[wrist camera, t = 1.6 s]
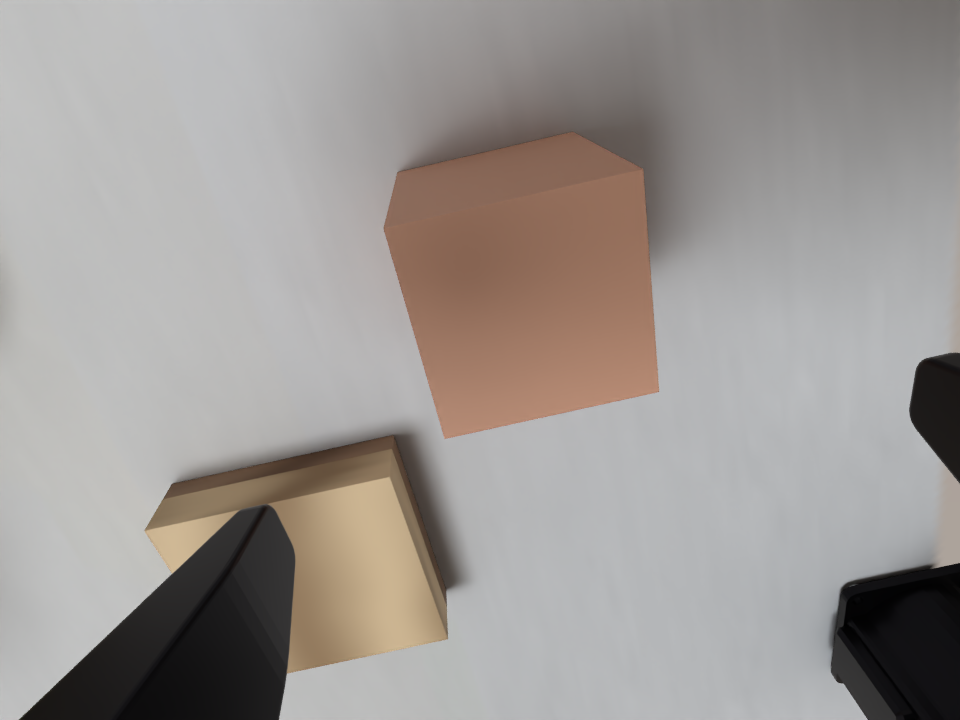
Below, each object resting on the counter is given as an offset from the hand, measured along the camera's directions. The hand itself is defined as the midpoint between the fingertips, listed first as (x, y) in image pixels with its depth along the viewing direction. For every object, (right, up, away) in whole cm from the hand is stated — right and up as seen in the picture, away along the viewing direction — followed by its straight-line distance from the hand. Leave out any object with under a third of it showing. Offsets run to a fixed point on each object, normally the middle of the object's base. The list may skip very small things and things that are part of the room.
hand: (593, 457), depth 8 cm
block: (-1, +5, +9) cm, 11 cm away
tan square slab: (-8, -6, +14) cm, 17 cm away
